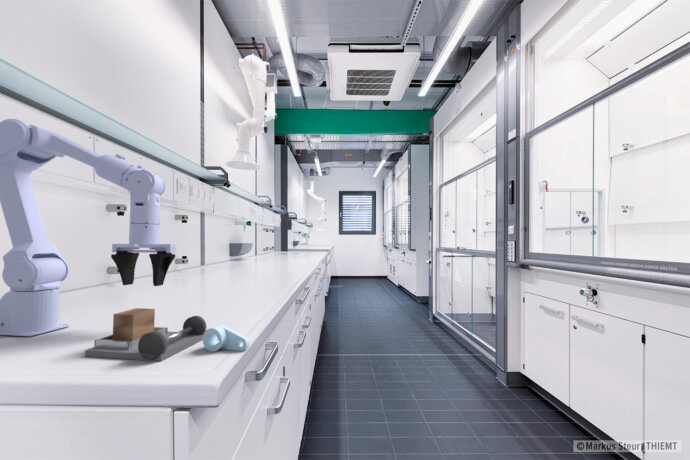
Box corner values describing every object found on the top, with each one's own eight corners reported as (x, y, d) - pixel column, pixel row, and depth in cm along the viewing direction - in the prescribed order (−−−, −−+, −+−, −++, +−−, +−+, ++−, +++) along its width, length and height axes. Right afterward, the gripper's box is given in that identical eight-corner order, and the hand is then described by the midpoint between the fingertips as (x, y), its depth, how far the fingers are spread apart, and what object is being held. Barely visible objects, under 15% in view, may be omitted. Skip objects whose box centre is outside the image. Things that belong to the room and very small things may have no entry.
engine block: (112, 342, 55) (113, 314, 55) (135, 334, 60) (136, 308, 60) (132, 343, 55) (133, 314, 55) (154, 335, 60) (154, 308, 60)
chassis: (85, 356, 52) (86, 329, 52) (142, 335, 64) (142, 313, 64) (162, 361, 50) (162, 333, 50) (206, 338, 62) (206, 316, 62)
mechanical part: (201, 348, 55) (204, 325, 55) (210, 343, 58) (214, 322, 58) (238, 360, 53) (242, 337, 53) (247, 355, 55) (251, 333, 55)
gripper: (100, 223, 67) (98, 286, 67) (161, 223, 65) (159, 288, 65) (127, 225, 74) (125, 282, 74) (183, 225, 72) (181, 284, 72)
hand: (143, 285), depth 70 cm, fingers open, 7 cm apart
